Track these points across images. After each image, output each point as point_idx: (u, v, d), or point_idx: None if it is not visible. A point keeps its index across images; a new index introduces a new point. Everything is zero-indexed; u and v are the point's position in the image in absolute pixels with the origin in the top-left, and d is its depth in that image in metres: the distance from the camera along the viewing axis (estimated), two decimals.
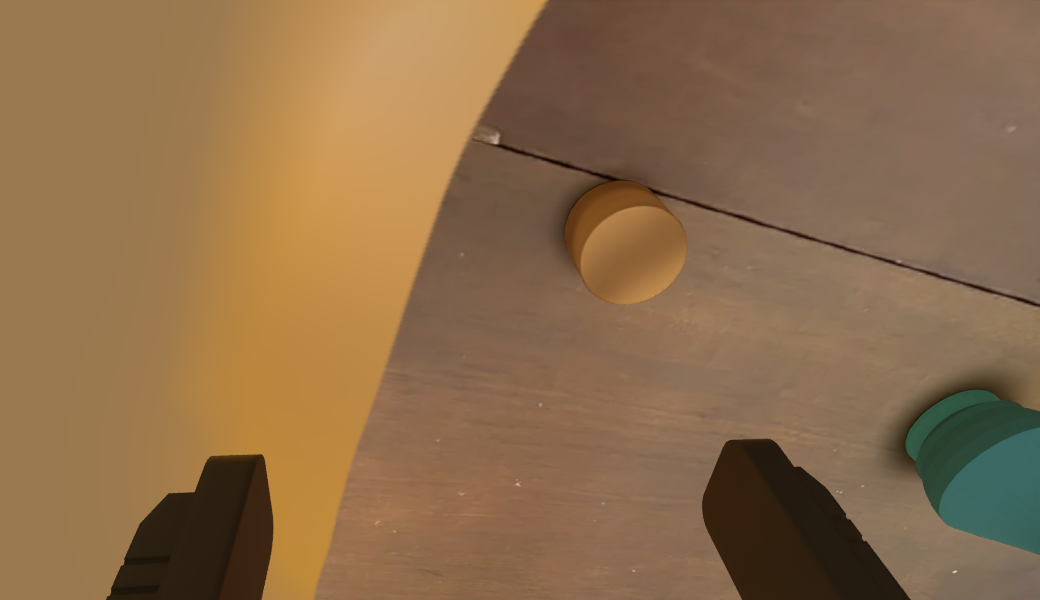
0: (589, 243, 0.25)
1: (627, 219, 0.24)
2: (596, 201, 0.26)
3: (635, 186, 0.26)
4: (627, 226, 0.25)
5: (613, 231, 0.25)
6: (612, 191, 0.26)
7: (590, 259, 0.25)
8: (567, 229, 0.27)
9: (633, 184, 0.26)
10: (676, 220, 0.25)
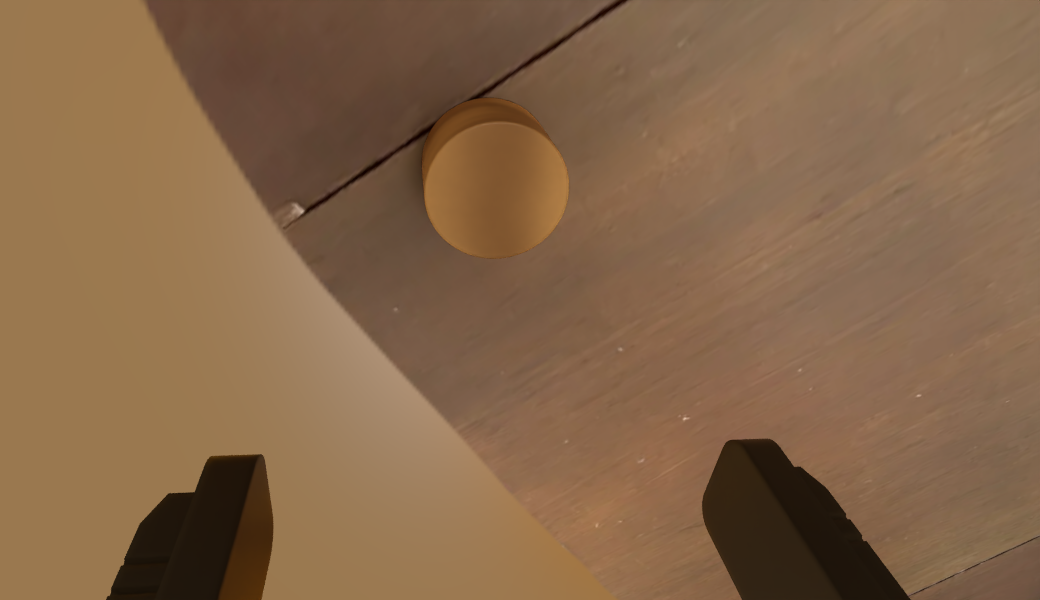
0: (439, 227, 0.20)
1: (443, 174, 0.19)
2: (422, 173, 0.20)
3: (446, 117, 0.20)
4: (452, 179, 0.19)
5: (445, 196, 0.19)
6: (427, 149, 0.20)
7: (460, 237, 0.20)
8: None
9: (445, 116, 0.20)
10: (491, 123, 0.18)
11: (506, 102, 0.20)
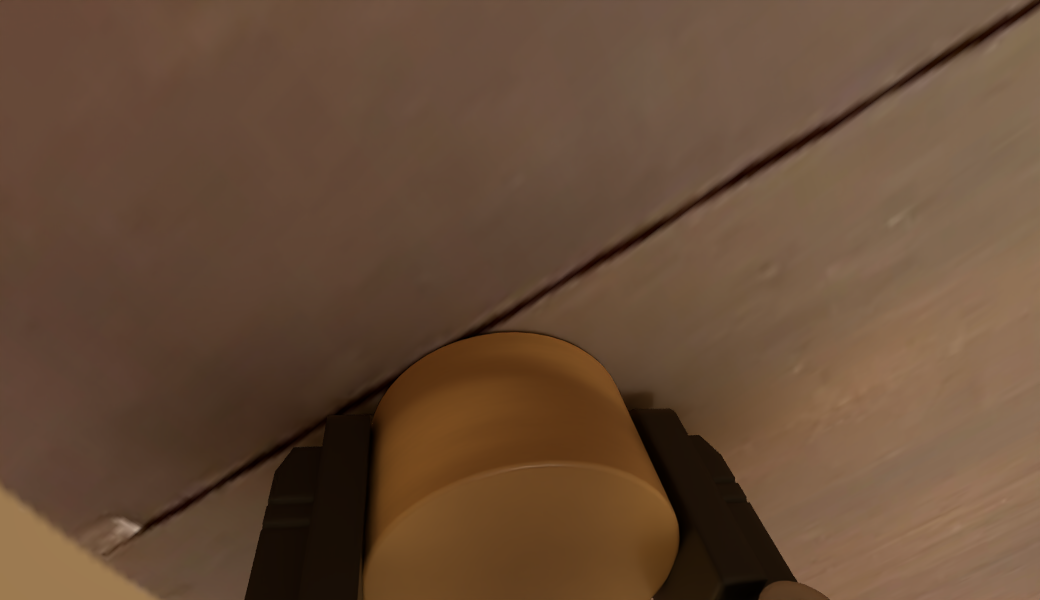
0: None
1: (402, 562, 0.08)
2: None
3: (415, 386, 0.09)
4: (423, 567, 0.08)
5: (409, 593, 0.09)
6: (374, 452, 0.09)
7: None
8: None
9: (415, 378, 0.10)
10: (514, 470, 0.08)
11: (541, 345, 0.10)
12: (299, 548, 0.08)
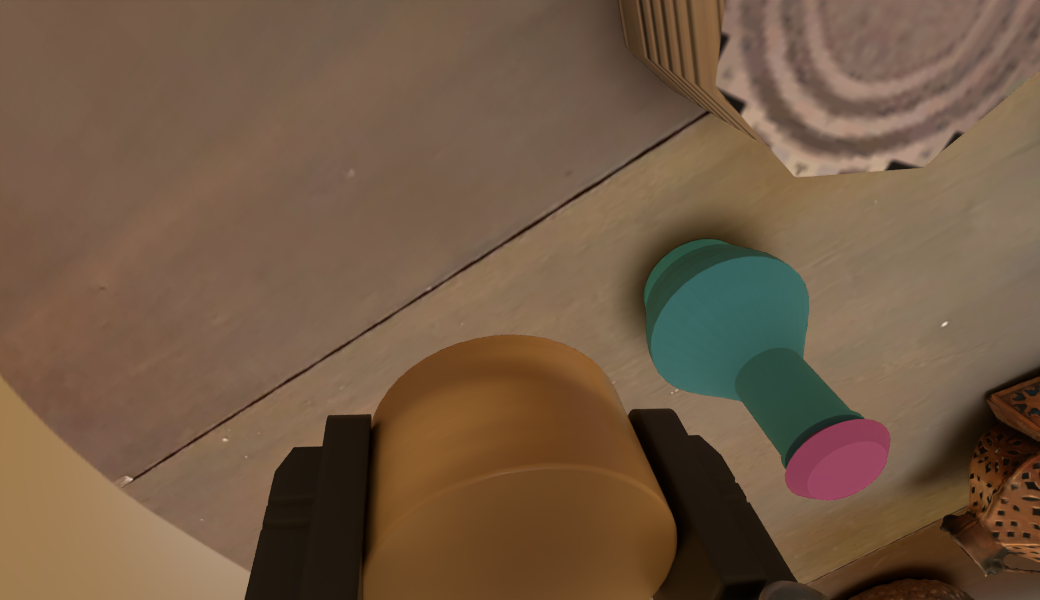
0: None
1: (401, 564, 0.08)
2: None
3: (414, 388, 0.10)
4: (422, 569, 0.08)
5: (408, 595, 0.09)
6: (373, 455, 0.10)
7: None
8: None
9: (414, 381, 0.10)
10: (512, 472, 0.08)
11: (540, 348, 0.10)
12: (299, 548, 0.08)
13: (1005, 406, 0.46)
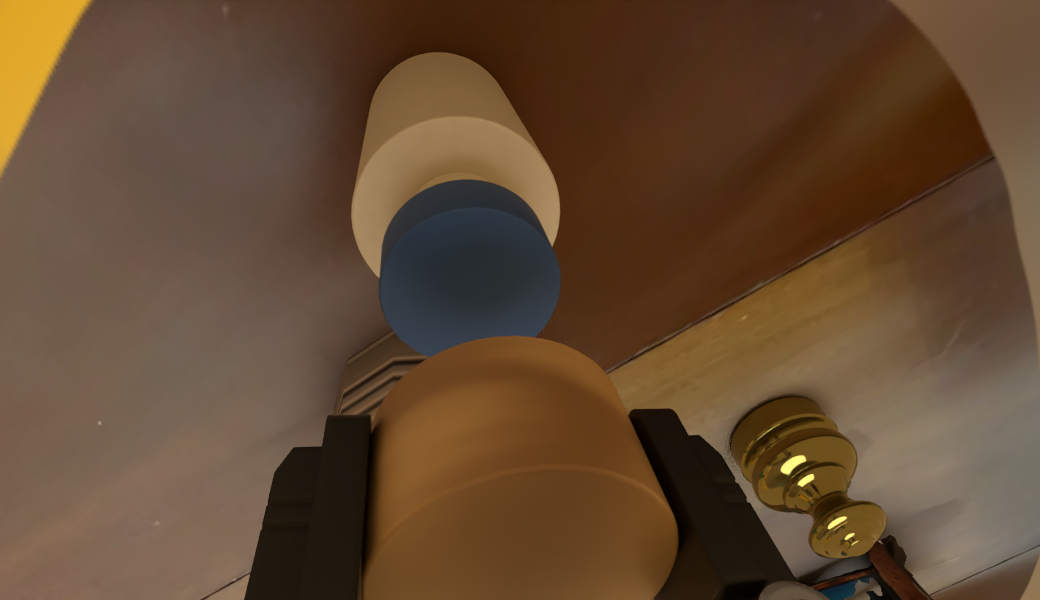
0: None
1: (402, 566, 0.08)
2: None
3: (415, 390, 0.10)
4: (423, 570, 0.08)
5: (409, 597, 0.09)
6: (374, 455, 0.10)
7: None
8: None
9: (415, 382, 0.10)
10: (514, 474, 0.08)
11: (541, 349, 0.10)
12: (299, 548, 0.08)
13: None
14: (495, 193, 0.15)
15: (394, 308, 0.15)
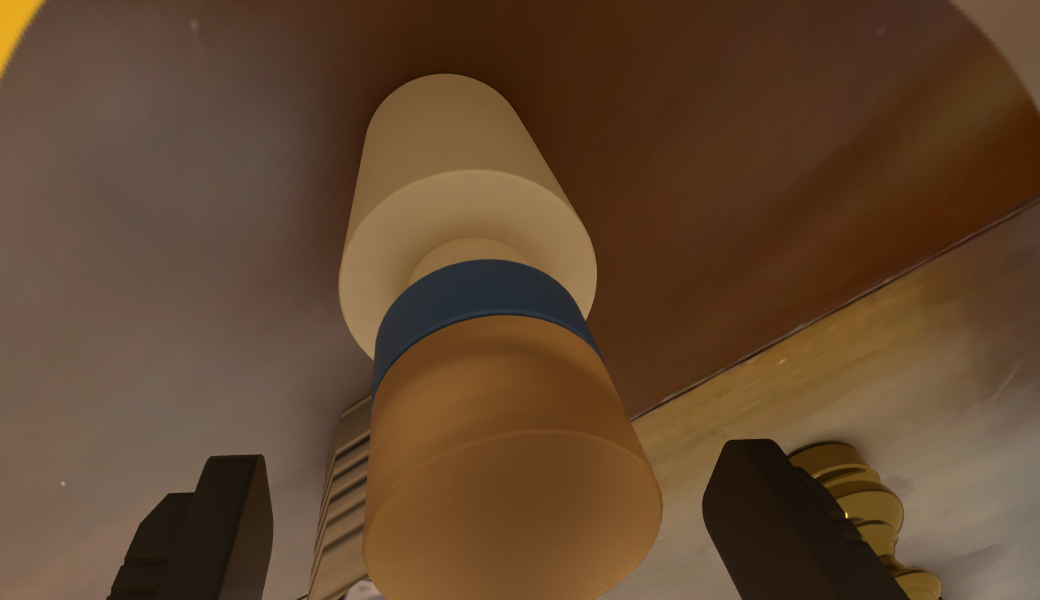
0: (398, 599, 0.10)
1: (402, 526, 0.09)
2: None
3: (414, 365, 0.10)
4: (422, 531, 0.09)
5: (408, 556, 0.09)
6: (376, 428, 0.10)
7: None
8: None
9: (414, 358, 0.10)
10: (506, 437, 0.08)
11: (533, 327, 0.10)
12: None
13: None
14: (525, 281, 0.12)
15: None
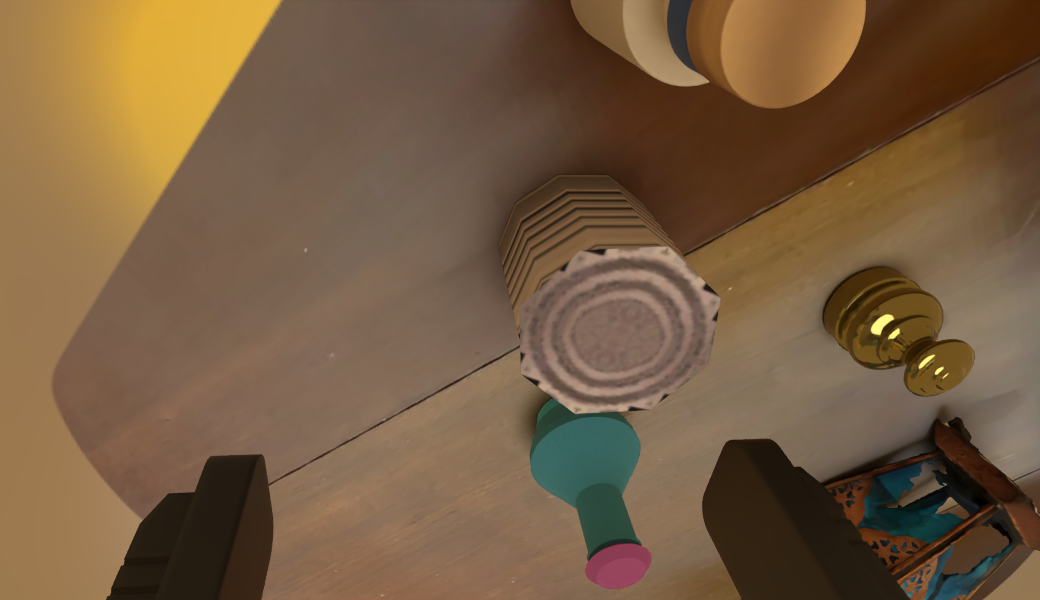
0: (728, 67, 0.19)
1: (747, 4, 0.18)
2: (702, 17, 0.20)
3: None
4: (755, 11, 0.18)
5: (743, 30, 0.19)
6: None
7: (744, 79, 0.19)
8: (700, 69, 0.22)
9: None
10: None
11: None
12: None
13: None
14: None
15: None
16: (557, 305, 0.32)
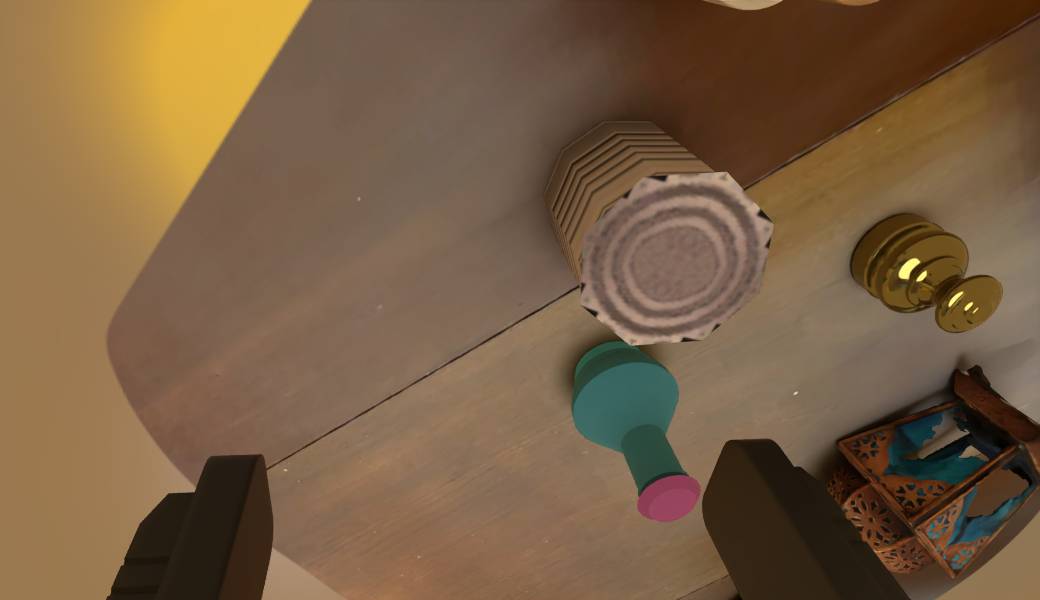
0: None
1: None
2: None
3: None
4: None
5: None
6: None
7: None
8: None
9: None
10: None
11: None
12: None
13: (847, 451, 0.63)
14: None
15: None
16: (619, 233, 0.33)
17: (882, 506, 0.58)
